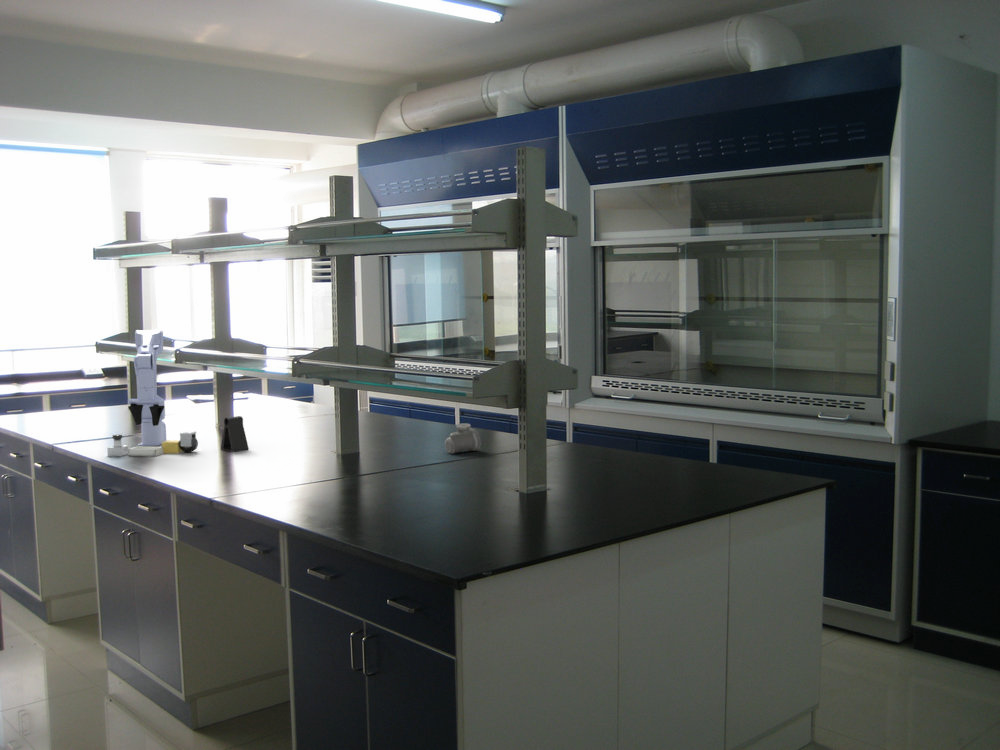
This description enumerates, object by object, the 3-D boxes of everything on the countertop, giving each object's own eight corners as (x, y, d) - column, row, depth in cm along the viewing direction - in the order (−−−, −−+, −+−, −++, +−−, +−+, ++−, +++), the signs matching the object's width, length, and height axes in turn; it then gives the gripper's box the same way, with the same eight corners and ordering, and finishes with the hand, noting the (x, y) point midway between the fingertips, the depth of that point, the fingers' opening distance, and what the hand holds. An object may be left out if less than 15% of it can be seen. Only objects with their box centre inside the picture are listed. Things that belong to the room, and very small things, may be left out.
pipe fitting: (469, 447, 328) (467, 420, 325) (482, 452, 321) (480, 424, 319) (442, 454, 321) (440, 427, 318) (454, 459, 314) (452, 431, 312)
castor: (183, 450, 327) (182, 431, 326) (199, 451, 326) (198, 431, 325) (178, 453, 322) (177, 433, 322) (193, 453, 322) (193, 433, 321)
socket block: (115, 453, 323) (115, 445, 322) (128, 453, 322) (128, 445, 322) (107, 455, 318) (107, 447, 318) (121, 456, 317) (120, 447, 317)
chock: (167, 451, 327) (167, 440, 327) (183, 451, 327) (182, 440, 326) (162, 453, 323) (161, 442, 323) (178, 453, 323) (177, 442, 322)
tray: (137, 452, 323) (137, 446, 323) (163, 453, 322) (163, 446, 322) (128, 455, 317) (128, 449, 317) (155, 456, 316) (155, 449, 316)
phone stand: (220, 449, 330) (219, 416, 329) (234, 447, 334) (233, 415, 333) (234, 452, 324) (233, 419, 323) (248, 449, 328) (247, 417, 327)
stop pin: (116, 453, 322) (115, 434, 321) (124, 454, 321) (123, 434, 321) (111, 455, 319) (110, 436, 318) (120, 455, 318) (119, 436, 318)
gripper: (121, 388, 321) (122, 425, 322) (154, 389, 316) (155, 427, 318) (135, 386, 328) (136, 422, 329) (167, 387, 323) (169, 424, 324)
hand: (147, 425), depth 324 cm, fingers open, 7 cm apart
